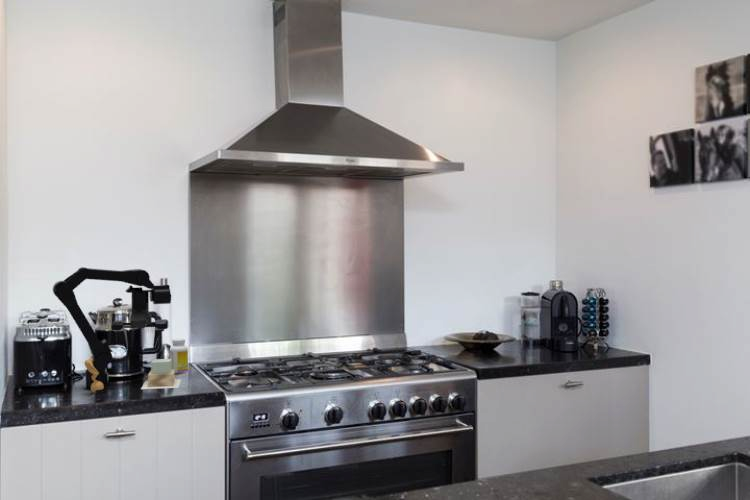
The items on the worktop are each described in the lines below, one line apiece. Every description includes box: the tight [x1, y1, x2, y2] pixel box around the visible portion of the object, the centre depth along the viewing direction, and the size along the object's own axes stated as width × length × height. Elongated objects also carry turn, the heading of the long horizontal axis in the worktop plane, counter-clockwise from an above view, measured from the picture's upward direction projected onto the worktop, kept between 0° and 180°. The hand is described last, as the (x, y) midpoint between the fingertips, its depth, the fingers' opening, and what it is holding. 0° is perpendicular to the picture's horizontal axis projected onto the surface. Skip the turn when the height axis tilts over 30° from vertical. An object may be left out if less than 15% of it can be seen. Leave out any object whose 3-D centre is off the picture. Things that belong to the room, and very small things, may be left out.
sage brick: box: [150, 358, 172, 374], centre depth 245 cm, size 6×6×4 cm
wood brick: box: [147, 370, 176, 387], centre depth 245 cm, size 8×8×4 cm
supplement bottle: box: [169, 338, 189, 374], centre depth 271 cm, size 7×7×13 cm
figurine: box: [84, 357, 105, 393], centre depth 237 cm, size 8×6×12 cm
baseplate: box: [140, 378, 182, 390], centre depth 245 cm, size 12×14×2 cm
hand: (140, 349), depth 253 cm, fingers open, 9 cm apart
